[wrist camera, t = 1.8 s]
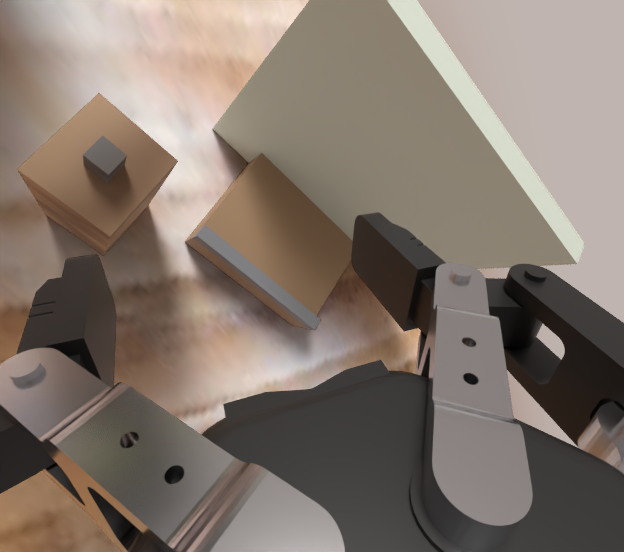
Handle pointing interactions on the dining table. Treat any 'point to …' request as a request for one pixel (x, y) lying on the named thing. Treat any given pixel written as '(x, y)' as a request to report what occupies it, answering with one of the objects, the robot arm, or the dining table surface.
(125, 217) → the knob board
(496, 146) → the cleat board
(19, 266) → the dining table surface
